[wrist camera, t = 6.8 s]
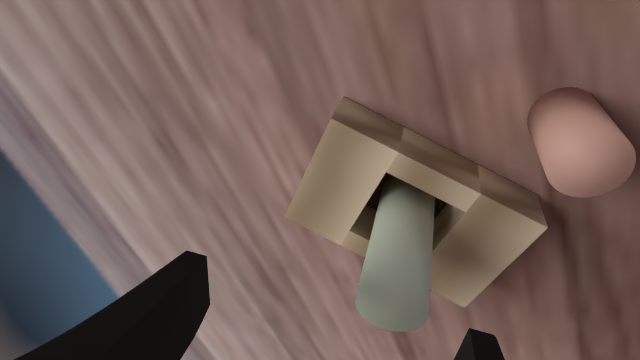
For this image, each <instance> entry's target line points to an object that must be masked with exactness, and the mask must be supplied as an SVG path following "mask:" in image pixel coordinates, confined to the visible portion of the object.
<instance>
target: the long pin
mask: <svg viewBox="0 0 640 360" xmlns="http://www.w3.org/2000/svg"><path fill="white" fill-rule="evenodd" d="M434 210H435V197H434V196H432V195H430V194H428V193H426V192H424V191H423V190H421V189H419V188H417V187H415V186H413V185H411V184H409V183H407V182H405V181H403V180H401V179H399V178H397V177H395V176H393V175H390V176H389V177H388V178H387V179H386V180H385V182H384V184H383V188H382V192H381V196H380V200H379V204H378V208H377V212H376V216H375V220H374V225H373V229H372V233H371V237H370V241H369V245H368V249H367V253H366V257H365V261H364V265H363V269H362V273H361V277H360V281H359V285H358V289H357V293H356V298H355V305H356V308H357V310H358V312H359V314H360V315H361V316H362V317H363V318H364V319H365V320H366V321H367V322H369V323H370V324H372V325H373V326H375V327H378V328H380V329H383V330H386V331H391V332H407V331H411V330H415V329H417V328H419V327H420V326H422V325H423V324H424V323H425V322H426V320H427V318H428V316H429V304H430V285H431V266H432V247H433V229H434Z"/></svg>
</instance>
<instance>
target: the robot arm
mask: <svg viewBox="0 0 640 360" xmlns="http://www.w3.org/2000/svg"><path fill="white" fill-rule="evenodd" d="M209 306H210V297H209V283H208V269H207V256H204V255H201V254H197V253H193V252H190V251H185V252H184V253H182V254H181V255H180V256H178V257H177V258H175V259H174V260H173V261H171V262H170V263H168V264H167V265H166V266H164V267H163V268H162V269H160V270H159V271H157V272H156V273H155V274H153V275H152V276H150V277H149V278H148V279H146V280H145V281H143V282H142V283H141V284H139V285H138V286H136V287H135V288H133V289H132V290H130V291H129V292H127V293H126V294H125V295H123V296H122V297H120V298H119V299H117V300H116V301H114V302H113V303H111V304H110V305H108V306H107V307H105V308H104V309H102V310H101V311H99V312H97V313H96V314H94V315H92V316H91V317H89V318H88V319H86V320H85V321H83V322H81V323H80V324H78V325H76V326H75V327H73V328H71V329H70V330H68V331H66V332H65V333H63V334H61V335H59V336H58V337H56V338H54V339H52V340H51V341H49V342H47V343H45V344H43V345H41V346H39V347H38V348H36V349H34V350H32V351H30V352H28V353H26V354H24V355H22V356H20V357H18V358H16V359H14V360H180V359H181V358H182V356H183V354H184V353H185V351H186V350H187V348H188V347H189V345H190V343H191V342H192V340H193V338H194V337H195V335H196V333H197V331H198V329H199V327H200V325H201V323H202V321H203V318H204V316H205V314H206V312H207V310H208V308H209ZM454 360H505V359H504V357H503V354H502V351H501V349H500V346H499V344H498V341H497V339H496V337H495V336H494V335H492V334H488V333H485V332H481V331H478V330H474V329H470V328H469V330H468V332H467V334H466V336H465V338H464V340H463V342H462V344H461V346H460V348H459V350H458V352H457V354H456V356H455V359H454Z"/></svg>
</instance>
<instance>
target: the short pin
mask: <svg viewBox="0 0 640 360" xmlns="http://www.w3.org/2000/svg"><path fill="white" fill-rule="evenodd" d="M527 123H528V129H529V131H530V134H531V137H532V139H533V142H534V145H535V147H536V150H537V152H538V155H539V158H540V160H541V163H542V166H543V168H544V171H545V174H546V176H547V179H548V181H549V182H550V184H551V185H552V186H553V187H554V188H555V189H556V190H557V191H559V192H561V193H563V194H565V195H568V196H572V197H578V198H589V197H596V196H600V195H603V194H606V193H609V192H611V191H613V190H615V189H616V188H618V187H619V186H621V185H622V184H623V183H624V182H625V181H626V180H627V179H628V178H629V176H630V175H631V173H632V172H633V170H634V167H635V163H636V153H635V150H634V147H633V146H632V144H631V143H630V142H629V140H628V139H627V138H626V137H625V135H624V134H623V133H622V132H621V130H620V129H619V128H618V127H617V125H616V124H615V123H614V122H613V120H612V119H611V118H610V117H609V116H608V114H607V113H606V112H605V111H604V109H603V108H602V107H601V106H600V104H599V103H598V102H597V101H596V99H595V98H594V97H593V96H592V95H591V94H590V93H588V92H587V91H585V90H582V89H579V88H573V87H566V88H559V89H556V90H553V91H550V92H548V93H546V94H545V95H543V96H542V97H540V98H539V99H538V100H537V101H536V102H535V103H534V105H533V106H532V108H531V109H530V112H529V114H528V120H527Z"/></svg>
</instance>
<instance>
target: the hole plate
mask: <svg viewBox="0 0 640 360" xmlns="http://www.w3.org/2000/svg"><path fill="white" fill-rule="evenodd" d="M386 172H387V173H389V174H391V175H393V176H395V177H397V178H399V179H401V180H403V181H405V182H407V183H409V184H411V185H413V186H415V187H417V188H419V189H421V190H423V191H424V192H426V193H428V194H430V195H432V196H434V197H436V198H438V199H440V200H442V201H444V202H446V203H447V204H446V205H445V206H444V207H443V209H442V210H441V211H440V213H439V214H438V215H437V216H436V218H435V219H434V229H433V247H432V266H431V285H430V291H432V292H434V293H436V294H438V295H440V296H442V297H444V298H446V299H448V300H450V301H452V302H454V303H456V304H458V305H460V306H462V307H464V308H465V307H466V306H467V305H468V304H469V303H470V302H471V301H472V300H473V299H474V298H475V297H476V296H477V295H478V294H479V293H480V292H482V291H483V290H484V289H485V288H486V287H487V286H488V285H489V284H490V283H491V282H492V281H493V280H494V279H495V278H496V277H497V276H498V275H499V274H500V273H501V272H502V271H503V270H505V269H506V268H507V267H508V266H509V265H510V264H511V263H512V262H513V261H514V260H515V259H516V258H517V257H518V256H519V255H520V254H521V253H522V252H523V251H524V250H525V249H527V248H528V247H529V246H530V245H531V244H532V243H533V242H534V241H535V240H536V239H537V238H538V237H539V236H540V235H541V234H542V233H543V232H544V231H545V230H546V229H547V228H548V226H547V223H546V220H545V217H544V214H543V210H542V207H541V204H540V201H539V198H538V195H537V194H535V193H533V192H531V191H529V190H527V189H525V188H523V187H521V186H519V185H518V184H516V183H514V182H512V181H510V180H508V179H506V178H504V177H502V176H500V175H498V174H496V173H494V172H492V171H490V170H488V169H486V168H484V167H482V166H480V165H478V164H476V163H474V162H472V161H470V160H468V159H466V158H464V157H462V156H460V155H458V154H456V153H454V152H452V151H450V150H448V149H446V148H444V147H442V146H440V145H438V144H436V143H435V142H433V141H431V140H429V139H427V138H425V137H423V136H421V135H419V134H417V133H415V132H413V131H411V130H409V129H407V128H405V127H403V126H401V125H399V124H397V123H395V122H393V121H391V120H389V119H387V118H385V117H383V116H381V115H379V114H377V113H375V112H373V111H371V110H369V109H367V108H365V107H363V106H361V105H359V104H357V103H355V102H353V101H351V100H350V99H348V98H346V97H343V99H342V100H341V102H340V104H339V106H338V107H337V109H336V111H335V112H334V114H333V116H332V118H331V120H330V122H329V124H328V126H327V128H326V130H325V132H324V134H323V136H322V138H321V141H320V143H319V145H318V147H317V149H316V151H315V153H314V155H313V157H312V159H311V162H310V164H309V166H308V168H307V170H306V172H305V174H304V176H303V178H302V180H301V183H300V185H299V187H298V189H297V191H296V193H295V195H294V197H293V199H292V202H291V204H290V206H289V208H288V210H287V212H286V214H285V216H284V217H285V218H287V219H289V220H291V221H293V222H295V223H297V224H299V225H301V226H303V227H305V228H307V229H309V230H311V231H313V232H315V233H317V234H319V235H321V236H323V237H325V238H327V239H329V240H331V241H333V242H335V243H337V244H339V245H341V246H343V247H345V248H347V249H349V250H351V251H353V252H355V253H357V254H359V255H361V256H362V257H364V258H365V257H366V253H367V249H368V245H369V241H370V237H371V233H372V229H373V225H374V220H375V216H376V212H377V210H375V209H373V208H371V207H369V206H367V205H366V203H367V202H368V200H369V199H370V197H371V195H372V194H373V192H374V191H375V189H376V187H377V186H378V184H379V183H380V181H381V180H382V178H383V176H384V175H385V173H386Z"/></svg>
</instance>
